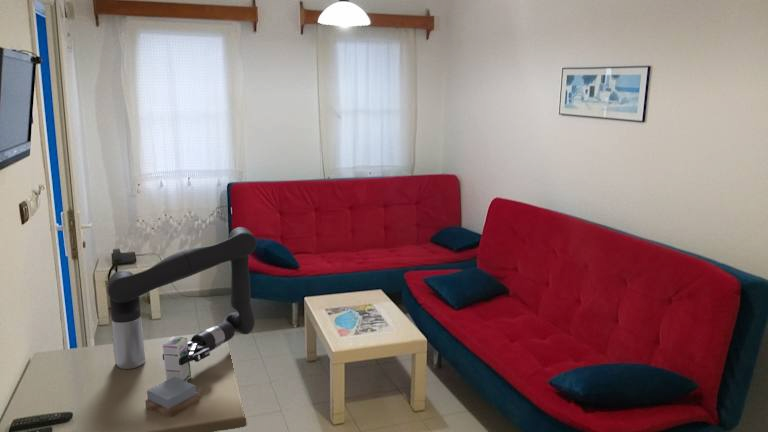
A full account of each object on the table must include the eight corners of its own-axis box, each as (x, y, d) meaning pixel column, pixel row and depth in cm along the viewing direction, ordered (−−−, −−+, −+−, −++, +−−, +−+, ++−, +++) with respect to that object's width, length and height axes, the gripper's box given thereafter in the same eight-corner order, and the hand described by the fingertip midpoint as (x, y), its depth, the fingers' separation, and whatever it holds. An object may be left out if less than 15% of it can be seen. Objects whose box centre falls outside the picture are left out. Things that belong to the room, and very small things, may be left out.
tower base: (146, 409, 180) (145, 400, 179) (174, 392, 189) (173, 384, 189) (172, 419, 175) (171, 410, 174) (199, 401, 184) (198, 392, 184)
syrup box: (182, 385, 192) (178, 345, 189) (166, 384, 193) (162, 343, 190) (191, 377, 198) (188, 337, 194) (175, 375, 199) (171, 335, 195)
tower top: (147, 399, 180) (146, 390, 179) (175, 385, 188) (174, 376, 187) (168, 409, 174) (167, 399, 174) (196, 394, 183) (195, 385, 182)
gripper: (192, 326, 208) (154, 344, 194) (223, 334, 202) (186, 354, 187) (194, 345, 210) (156, 365, 196) (224, 354, 203) (188, 375, 189)
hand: (171, 360), depth 191 cm, fingers closed on syrup box, 6 cm apart
